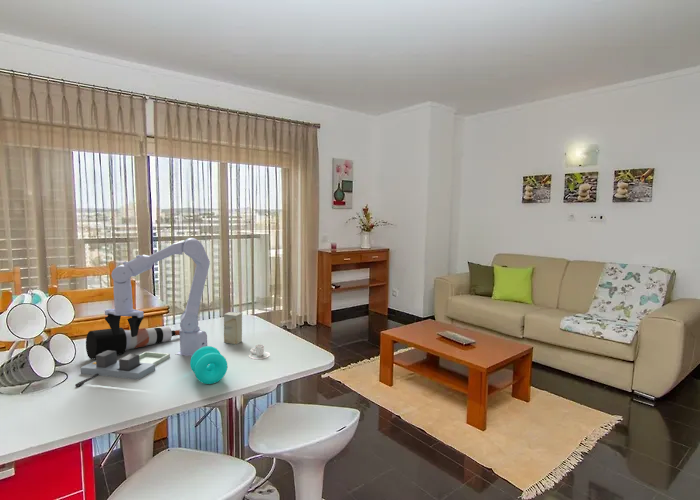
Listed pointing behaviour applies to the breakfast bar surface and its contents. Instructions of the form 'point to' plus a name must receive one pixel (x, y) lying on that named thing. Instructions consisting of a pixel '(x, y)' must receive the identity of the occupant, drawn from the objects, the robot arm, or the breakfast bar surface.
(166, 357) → the tray
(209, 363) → the teal spool
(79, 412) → the breakfast bar surface
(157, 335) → the black white cylindrical piece
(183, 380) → the breakfast bar surface
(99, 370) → the power strip
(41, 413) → the breakfast bar surface
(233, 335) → the skincare box
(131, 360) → the plug
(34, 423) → the breakfast bar surface
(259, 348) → the teacup and saucer
